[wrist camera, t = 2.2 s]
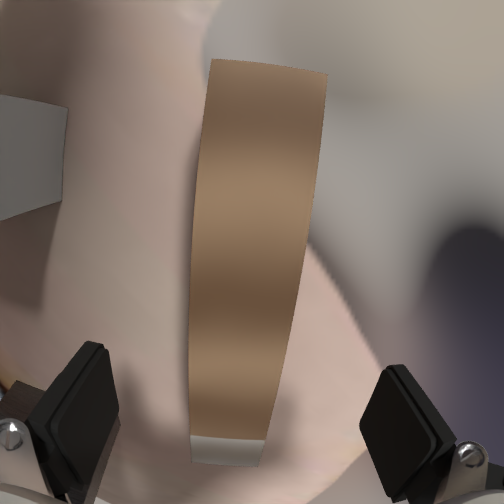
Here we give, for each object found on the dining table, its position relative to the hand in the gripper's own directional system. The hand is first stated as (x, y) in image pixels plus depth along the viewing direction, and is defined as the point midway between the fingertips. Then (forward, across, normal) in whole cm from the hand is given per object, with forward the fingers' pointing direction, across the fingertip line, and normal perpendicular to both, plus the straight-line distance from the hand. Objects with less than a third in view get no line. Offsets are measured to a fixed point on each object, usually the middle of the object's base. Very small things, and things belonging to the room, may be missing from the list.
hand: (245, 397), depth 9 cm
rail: (+7, 0, -1) cm, 7 cm away
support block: (+6, +13, -7) cm, 17 cm away
